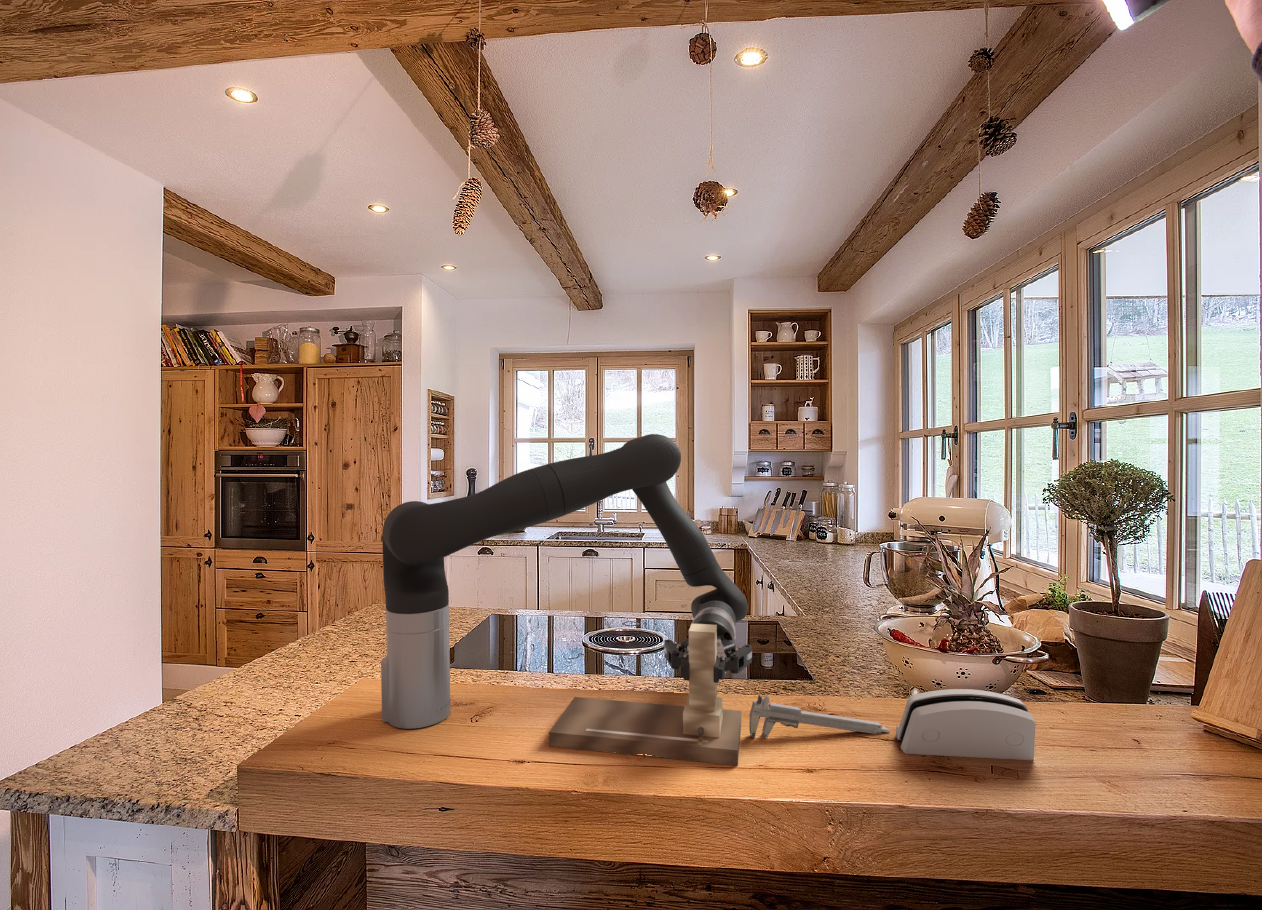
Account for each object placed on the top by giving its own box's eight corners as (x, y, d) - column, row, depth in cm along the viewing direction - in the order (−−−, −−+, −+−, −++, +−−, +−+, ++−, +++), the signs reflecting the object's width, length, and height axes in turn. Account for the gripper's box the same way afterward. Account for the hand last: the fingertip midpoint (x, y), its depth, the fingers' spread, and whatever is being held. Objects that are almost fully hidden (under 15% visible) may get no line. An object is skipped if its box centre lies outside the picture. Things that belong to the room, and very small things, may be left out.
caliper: (751, 740, 88) (751, 696, 88) (749, 736, 89) (749, 693, 89) (890, 734, 89) (890, 691, 89) (886, 731, 90) (886, 688, 90)
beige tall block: (682, 736, 84) (681, 634, 84) (688, 715, 91) (687, 620, 91) (719, 740, 83) (718, 637, 83) (722, 718, 90) (722, 622, 90)
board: (549, 746, 86) (548, 731, 86) (574, 709, 98) (574, 696, 98) (737, 765, 81) (737, 749, 81) (741, 724, 92) (741, 710, 92)
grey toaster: (1016, 741, 86) (1029, 684, 83) (1033, 769, 82) (1047, 711, 78) (892, 735, 88) (899, 679, 85) (901, 762, 84) (910, 705, 80)
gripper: (668, 610, 103) (650, 644, 86) (755, 614, 100) (753, 651, 83) (669, 655, 103) (650, 697, 86) (755, 660, 100) (753, 706, 83)
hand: (701, 674), depth 85 cm, fingers closed on beige tall block, 3 cm apart
